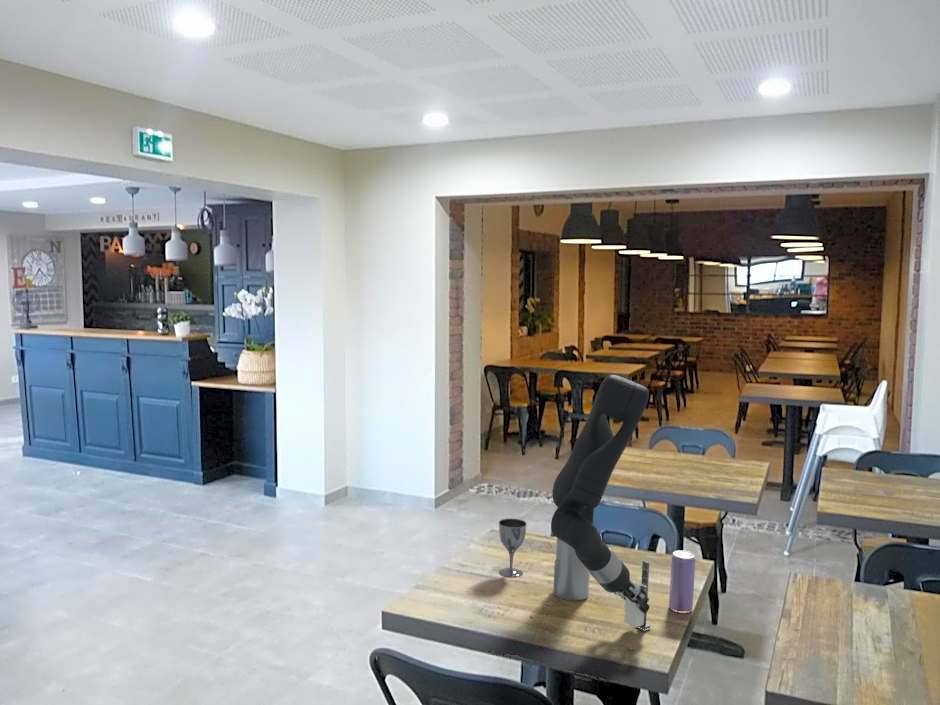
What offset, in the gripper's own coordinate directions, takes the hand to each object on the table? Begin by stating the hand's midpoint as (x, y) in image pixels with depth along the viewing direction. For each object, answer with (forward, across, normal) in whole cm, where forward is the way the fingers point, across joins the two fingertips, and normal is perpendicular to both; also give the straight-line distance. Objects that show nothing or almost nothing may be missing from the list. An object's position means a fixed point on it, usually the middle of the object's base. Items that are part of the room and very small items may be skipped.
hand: (640, 606), depth 186 cm
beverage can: (+17, +2, -9) cm, 19 cm away
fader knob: (+1, 0, +4) cm, 4 cm away
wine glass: (0, +44, +9) cm, 45 cm away
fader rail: (+5, 0, +3) cm, 6 cm away
